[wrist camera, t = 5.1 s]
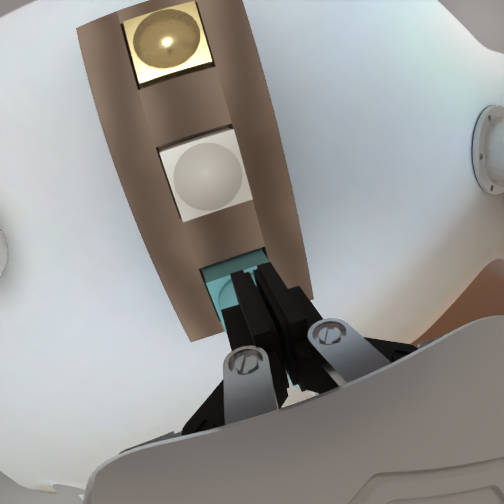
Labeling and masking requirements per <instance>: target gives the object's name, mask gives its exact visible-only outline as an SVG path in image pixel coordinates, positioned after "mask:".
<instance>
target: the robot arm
mask: <svg viewBox="0 0 504 504" xmlns="http://www.w3.org/2000/svg"><path fill="white" fill-rule="evenodd" d="M473 165H474V170H475V175H476V178H477V180H478V183H479V184H480V186H481V188H482V189H483V190H484V191H486V192H487V193H489V194H492V195H499V194H502V193H503V192H504V107H502V106H496V105H493V106H489V107H487V108H486V109H485V110H484V111H483V113H482V114H481V116H480V117H479V120H478V122H477V125H476V128H475V132H474V138H473ZM253 274H254V278H255V282H256V285H255V283H254V281H253V279H252V277H251V275H250V272H246V273H244V271H243V270H240V271H237V272H233V273H230V277H231V280H232V284H233V287H234V291H235V294H236V297H237V301H238V305H235V306H232V307H228V308H225V309H222V310H221V312H222V316H223V320H224V324H225V328H226V331H227V335H228V339H229V342H230V346H231V350H232V351H231V352H230V353H229V354H228V355H227V356H226V358H225V360H224V364H223V380H222V382H221V383H220V384H219V385H218V386H217V388H216V389H215V390H214V391H213V392H212V394H211V395H210V396H209V397H208V398H207V400H206V401H205V402H204V403H203V404H202V405H201V407H200V408H199V409H198V410H197V411H196V412H195V414H194V415H193V416H192V417H191V418H190V419H189V421H188V422H187V423H186V424H185V426H184V428H183V430H182V431H181V432H178V433H176V434H175V433H174V431H173V432H170V433H168V434H165V435H163V436H160V437H158V438H155V439H153V440H150V441H147V442H145V443H142V444H139V445H137V446H134V447H131V448H128V449H126V450H124V451H122V452H120V453H119V454H118V455H117V456H115V457H113V458H111V459H109V460H107V461H106V462H104V463H103V464H101V465H100V466H99V467H97V468H96V469H95V470H94V472H93V473H92V474H91V476H90V478H89V480H88V482H87V485H86V489H85V494H84V499H83V504H504V316H491V317H486V318H482V319H479V320H476V321H473V322H470V323H468V324H466V325H464V326H462V327H460V328H458V329H456V330H454V331H452V332H450V333H448V334H446V335H444V336H440V337H437V338H434V339H431V340H428V341H424V342H421V343H419V344H418V347H415V346H413V345H409V344H405V343H398V342H391V341H385V340H378V339H372V338H366V337H362V336H361V335H360V334H359V333H358V332H357V331H355V330H354V329H353V328H352V327H351V326H350V325H349V324H348V323H346V322H345V321H343V320H340V319H335V318H328V319H323V318H322V317H321V315H320V314H319V313H318V311H317V310H316V308H315V307H314V306H313V304H312V303H311V301H310V300H309V299H308V297H307V296H306V294H305V293H304V292H303V290H302V289H301V287H300V286H295V287H292V288H289V289H288V288H287V287H286V285H285V283H284V282H283V280H282V279H281V277H280V276H279V274H278V273H277V271H276V270H275V268H274V267H273V265H272V263H271V262H267V263H263V264H260V265H257V269H256V270H253ZM286 371H287V373H288V376H289V378H290V380H291V382H292V384H293V386H295V385H299V387H300V389H301V391H302V392H303V391H306V390H308V391H312V392H315V396H314V397H312V398H309V399H306V400H304V401H301V402H298V403H295V404H292V405H290V406H287V407H284V408H282V407H281V406H282V405H283V403H284V402H285V400H286V399H287V397H288V393H287V388H289V383H288V378H287V373H286Z"/></svg>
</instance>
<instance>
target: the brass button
mask: <svg viewBox="0 0 504 504" xmlns="http://www.w3.org/2000/svg"><path fill="white" fill-rule="evenodd" d="M123 24H124V28H125V32H126V36H127V39H128V43H129V47H130V51H131V55H132V58H133V62H134V66H135V69H136V73H137V76H138V80H139V83H140V84H141V86H142V87H143V88H146V87H149V86H152V85H155V84H157V83H160V82H164V81H167V80H170V79H173V78H176V77H179V76H183V75H186V74H190V73H193V72H197V71H200V70H204V69H208V68H209V66H210V64H211V63H212V59H211V55H210V52H209V48H208V45H207V41H206V38H205V34H204V31H203V28H202V24H201V21H200V17H199V14H198V10H197V7H196V4H195V1H192V2H188V3H183V4H179V5H176V6H172V7H168V8H164V9H161V10H157V11H154V12H151V13H148V14H144V15H141V16H138V17H135V18H132V19H130V20H127V21H124V22H123Z"/></svg>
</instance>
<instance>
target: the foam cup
mask: <svg viewBox="0 0 504 504" xmlns="http://www.w3.org/2000/svg"><path fill="white" fill-rule="evenodd" d="M7 262H8V247H7V244H6V241H5V238H4V235H3V233H2V232H1V231H0V277H1V275H2V273H3V271H4V269H5V267H6V265H7Z"/></svg>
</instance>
